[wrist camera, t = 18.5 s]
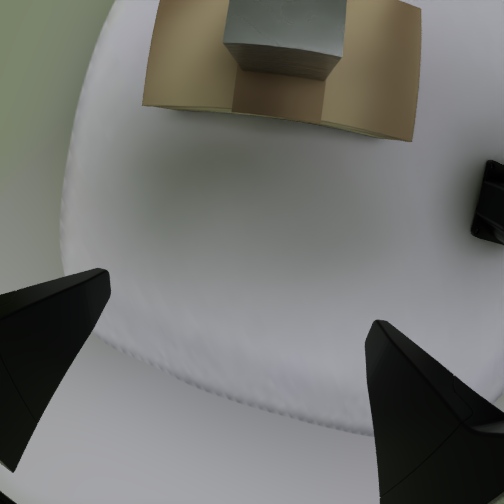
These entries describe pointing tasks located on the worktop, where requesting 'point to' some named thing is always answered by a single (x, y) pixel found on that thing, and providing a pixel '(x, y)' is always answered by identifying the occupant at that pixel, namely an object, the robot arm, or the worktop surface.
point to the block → (286, 36)
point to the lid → (289, 87)
